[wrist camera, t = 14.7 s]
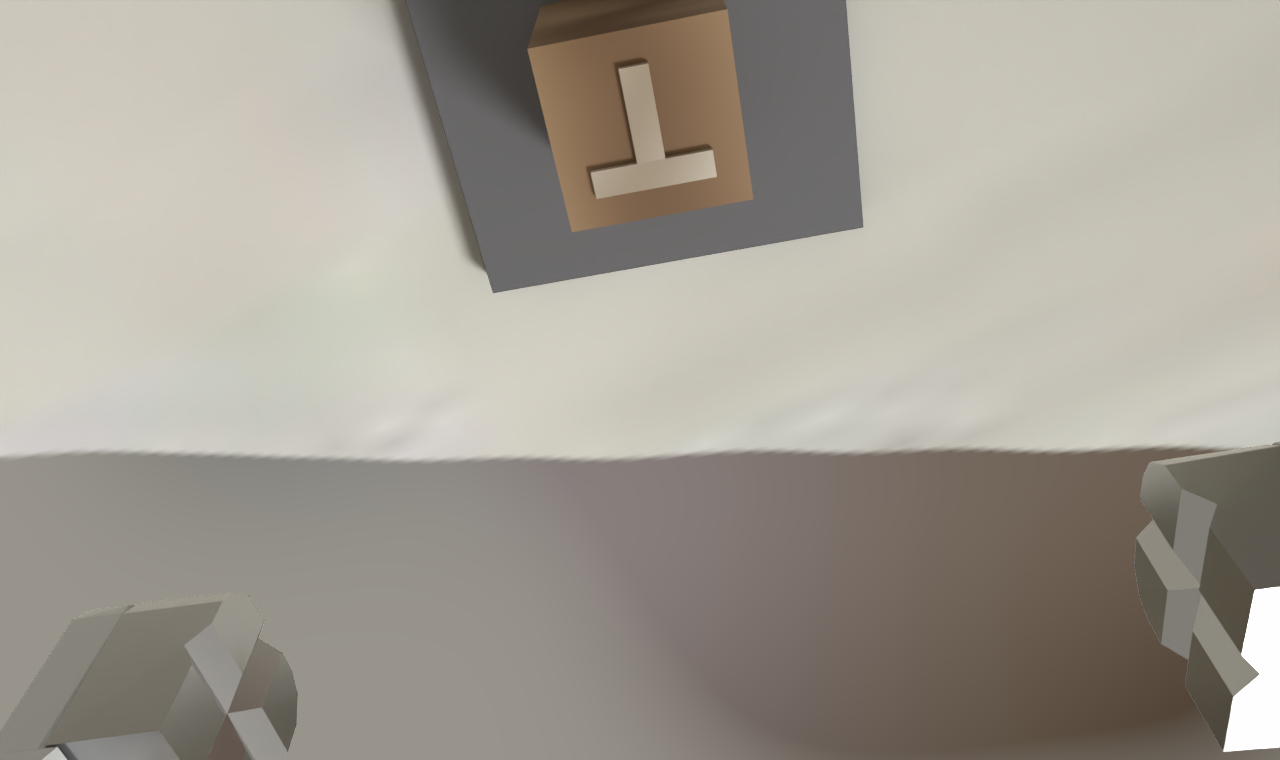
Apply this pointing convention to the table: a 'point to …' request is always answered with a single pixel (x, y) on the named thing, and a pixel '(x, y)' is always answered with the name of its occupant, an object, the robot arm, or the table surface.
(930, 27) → the table surface
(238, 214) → the table surface
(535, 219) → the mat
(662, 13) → the letter cube
